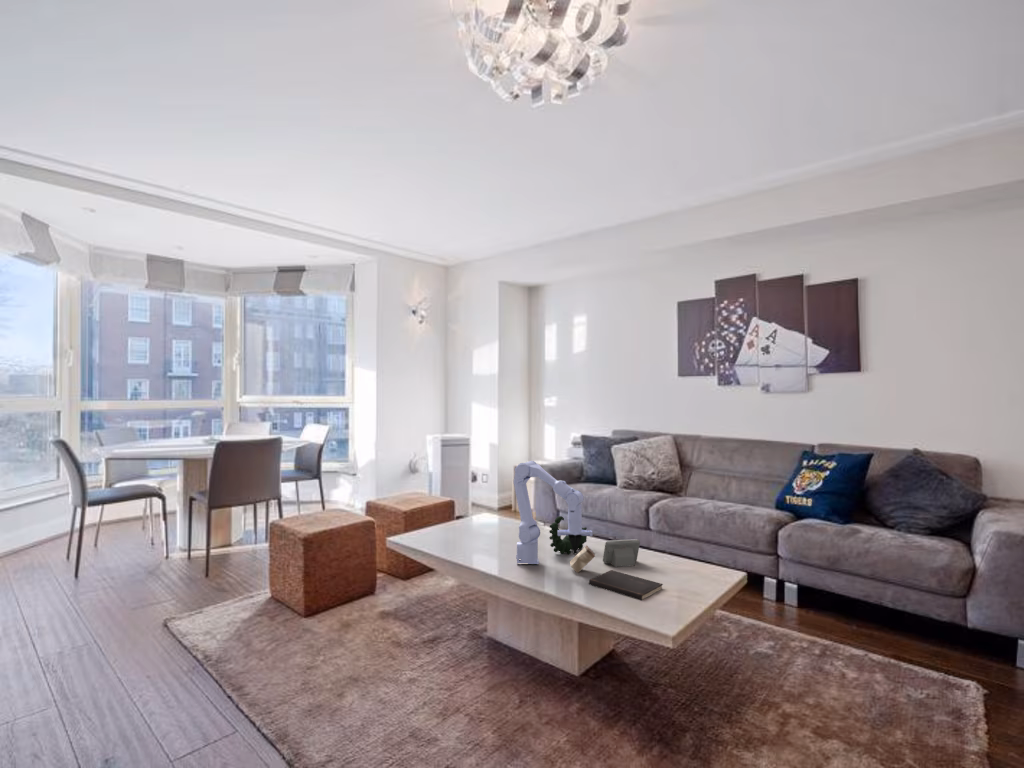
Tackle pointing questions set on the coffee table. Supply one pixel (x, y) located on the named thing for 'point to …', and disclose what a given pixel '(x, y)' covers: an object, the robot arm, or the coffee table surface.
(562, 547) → the toy figurine
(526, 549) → the robot arm
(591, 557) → the beech block
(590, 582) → the hardcover book
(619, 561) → the digital clock
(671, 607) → the coffee table surface
